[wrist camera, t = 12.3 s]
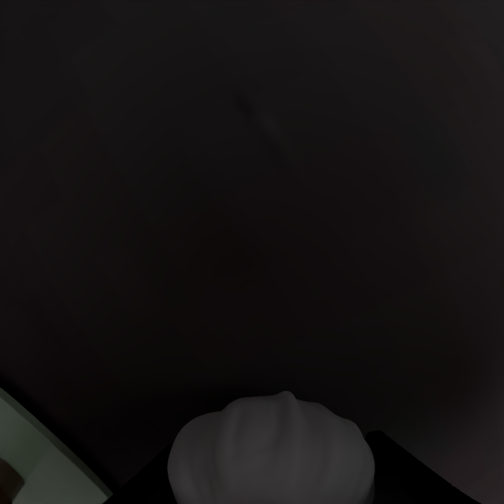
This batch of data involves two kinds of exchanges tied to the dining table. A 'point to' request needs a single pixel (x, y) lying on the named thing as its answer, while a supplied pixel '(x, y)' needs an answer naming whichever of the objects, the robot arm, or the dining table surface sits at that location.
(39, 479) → the lid
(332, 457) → the garlic
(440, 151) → the dining table surface
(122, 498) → the robot arm
